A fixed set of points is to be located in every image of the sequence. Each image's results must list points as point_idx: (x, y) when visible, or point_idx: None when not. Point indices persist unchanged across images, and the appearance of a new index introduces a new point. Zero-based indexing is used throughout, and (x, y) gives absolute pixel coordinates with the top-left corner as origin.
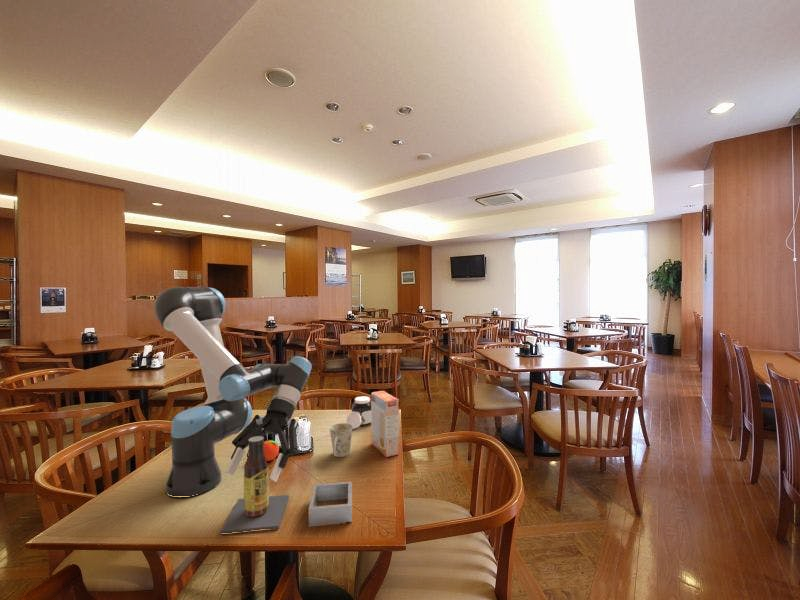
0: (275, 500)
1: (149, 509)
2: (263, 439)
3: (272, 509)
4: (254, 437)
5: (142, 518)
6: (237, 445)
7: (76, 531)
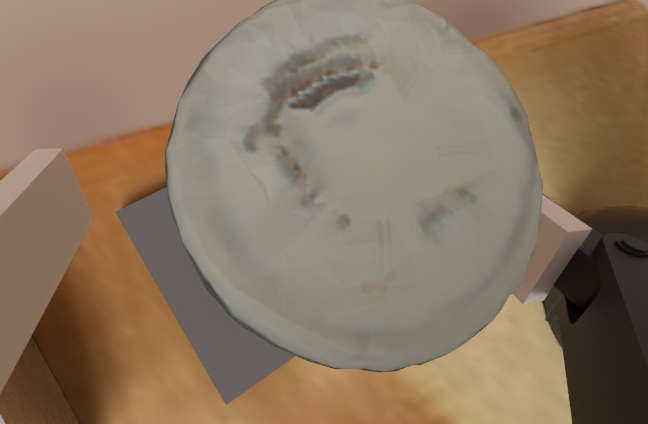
0: (253, 340)
1: (588, 148)
2: (185, 248)
3: None
4: (473, 202)
5: (562, 114)
6: (622, 238)
7: (627, 37)
